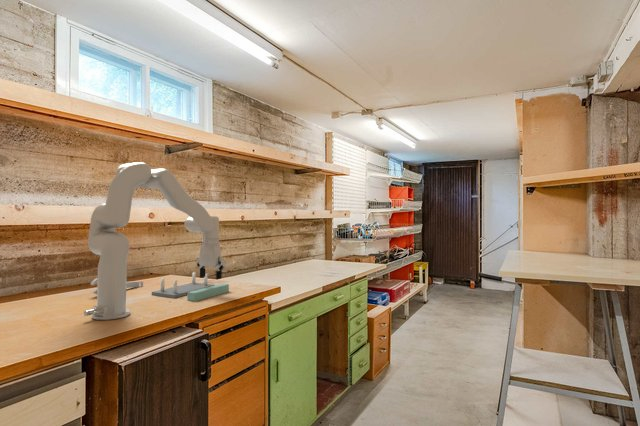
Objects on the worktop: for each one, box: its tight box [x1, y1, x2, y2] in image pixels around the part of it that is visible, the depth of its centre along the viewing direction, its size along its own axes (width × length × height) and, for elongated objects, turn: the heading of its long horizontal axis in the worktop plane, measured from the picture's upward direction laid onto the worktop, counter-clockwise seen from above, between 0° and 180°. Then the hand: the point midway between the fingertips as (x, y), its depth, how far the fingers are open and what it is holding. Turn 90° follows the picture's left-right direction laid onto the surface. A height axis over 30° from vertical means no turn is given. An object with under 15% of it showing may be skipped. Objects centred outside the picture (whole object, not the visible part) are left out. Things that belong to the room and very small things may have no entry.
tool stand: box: [151, 271, 215, 299], centre depth 186 cm, size 28×14×8 cm, turn 156°
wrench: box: [90, 277, 144, 295], centre depth 182 cm, size 8×2×30 cm
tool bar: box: [186, 283, 230, 302], centre depth 177 cm, size 24×4×4 cm, turn 155°
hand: (210, 278), depth 178 cm, fingers open, 9 cm apart
